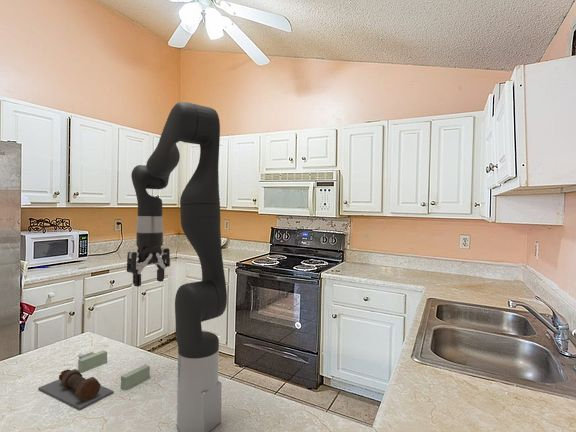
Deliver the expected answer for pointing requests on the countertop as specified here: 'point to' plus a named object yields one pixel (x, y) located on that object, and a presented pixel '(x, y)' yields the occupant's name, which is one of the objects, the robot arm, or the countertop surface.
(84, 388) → the bolt
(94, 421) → the countertop surface
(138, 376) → the rails
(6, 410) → the countertop surface
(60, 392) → the mat
